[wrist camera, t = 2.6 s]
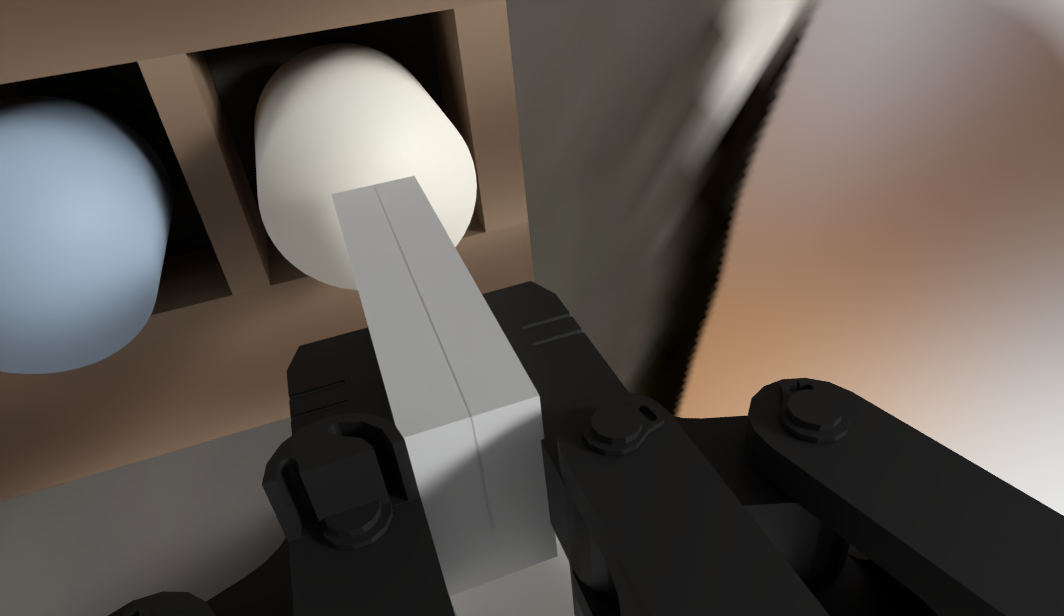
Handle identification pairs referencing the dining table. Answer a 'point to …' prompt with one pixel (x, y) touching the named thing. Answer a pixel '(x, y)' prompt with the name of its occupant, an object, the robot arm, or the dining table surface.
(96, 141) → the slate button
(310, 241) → the cream rounded lump
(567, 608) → the water bottle
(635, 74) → the dining table surface
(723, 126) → the dining table surface
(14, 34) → the brown wooden tray
